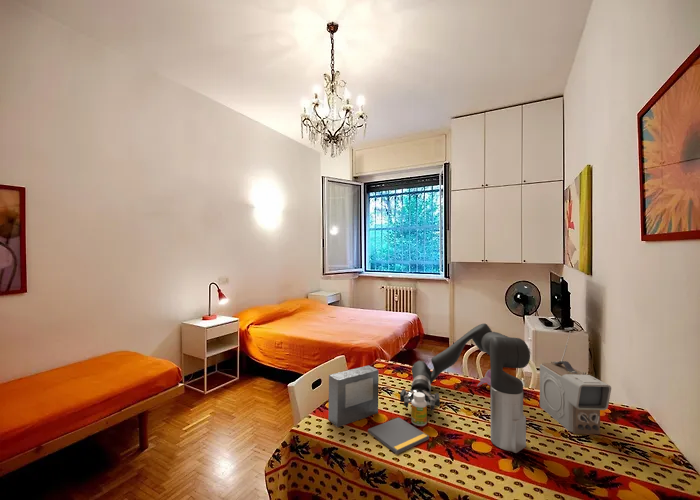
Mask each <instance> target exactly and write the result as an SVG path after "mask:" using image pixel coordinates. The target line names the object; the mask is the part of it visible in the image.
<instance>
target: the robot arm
mask: <svg viewBox="0 0 700 500" xmlns="http://www.w3.org/2000/svg"><path fill="white" fill-rule="evenodd" d="M471 340H472V341H473V343H474V344H475V346H476V347H477V348H478V350H479V351H480V352H483V353H486V354H487V355H488V356H489V361H490V370H491V385H490V441H491V443H492V444H493V445H494V446H496V447H497V448H500V449H502V450H504V451H508V452H512V453H515V454H518V453H519V452H520V451H522V450H523V449H525V448H527V416H526V415H525V414H524V384H523V381H522V380H521V379H520V378H519V377H516V376H514V375H511V374H509V373H508V372H506V371H504V369H503V368H509V369H510V368H511V369H522V368H525V367H527V366H528V365H529V362H530V360H531V351H530V348H529V346H528V345H527V342H525V340H524V339H522V338H520V337H509V336H507V335H504V334H502V333H500V332H496V331H493V330H492V329H491V328H490V326H489V325H488V324H486V323H481V324H478V325H476V326H475V327H473V328H472V329H470V330H468V331H467V332H466V333H465V334H463V336H461V337H460V338H459V339H457V340H456V341H454V342H453V343H452V344H451V345H450V346H448V347H447V348H445V349H444V350H443V351H442V350H441V352H439V353H437V354H436V355H434V356H433V357H432V358H431V359H430V362H431V364H432V366H433V370H432V371H431V369H430V368H429V367H428V365H427V363H426V362H425V361H423V360H417V361H416V362H414V363H413V365H412V367H411V374H412V377H413V379H412V383H411V387H410V390H409V391H407V390H406V389H405V388H402V389H401V391H400V393H399V398H400V399H399V402H400V403H403V406H405V408H406V409H407V408H408V407H409V403H411V402H412V400H413V399H414V398H413V394H414V393H415V392H421V393H423V394H425V401H426V402H427V406H429V407H430V409H429V410H430V412H432V411H435V406H436V407H438V408H439V407H441V405H440V404H441V403H440V402H441V400H440V394H439V393H438V392H435V393H434V394H432V393H431V390H432V389H431V388H432V385H431V384H432V383H433V382H434V381H435V380H436V378H437V377H438V376H439V375H441V374H442V372H444V371H446V370H447V369H449V368H450V367H452V366H454V365H455V364H456V363H457V362H458V360H459V358H460V357H461V355H462V352H463V350H464V348H465V346H466V344H467V343H469V341H471Z"/></svg>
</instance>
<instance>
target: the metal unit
mask: <svg viewBox="0 0 700 500" xmlns="http://www.w3.org/2000/svg"><path fill="white" fill-rule="evenodd" d="M377 414H379V369H377V368H375V367H374V366H371V365H369V364H368V365H363V366H360V367H356V368H352V369H348V370H347V369H346V370H343V371H339V372H335V373H331V374H330V373H329V374H328V417H327V418H328V421H329V422H330V423H331V424H333V425H334V426H335V427H336V428H340V427H343V426H346V425H348V424H351V423H354V422H357V421H359V420H363V419H365V418H369V417H371V416H373V415H377Z"/></svg>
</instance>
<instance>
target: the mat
mask: <svg viewBox="0 0 700 500" xmlns="http://www.w3.org/2000/svg"><path fill="white" fill-rule="evenodd" d="M367 433H368V434H370V436H371V437H373V438H375V439H376V440H378V442H380V443H381V444H382V445H384V446H385V447H386V448H387V449H389V450H390V451H392V453H394V454H396V455H398V454H401V453H402V452H405V451H407V450H409V449H411V448H413V447H415V446H418V445H420V444H422V443H424V442H426V441H428V440H430V436H429V435H428V434H427V433H425V432H423V430H421V429H419V428H417V427H415V426H414V425H412V424H410V423H409V422H407V421H406V420H404V419H402V418H401V417H396V418H394V419H391V420H388V421H386V422H383V423H380V424H378V425H375V426H373V427H370V428H368V429H367Z"/></svg>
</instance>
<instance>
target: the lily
mask: <svg viewBox="0 0 700 500" xmlns="http://www.w3.org/2000/svg"><path fill="white" fill-rule="evenodd" d="M478 381H480V382H478V384H477V386H476V387H479V386H481V385H483V384H487V385H488V386H491V368H490V369H488V370H487V371H486V372H485V375H484V377H481V378H480V379H478Z"/></svg>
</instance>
